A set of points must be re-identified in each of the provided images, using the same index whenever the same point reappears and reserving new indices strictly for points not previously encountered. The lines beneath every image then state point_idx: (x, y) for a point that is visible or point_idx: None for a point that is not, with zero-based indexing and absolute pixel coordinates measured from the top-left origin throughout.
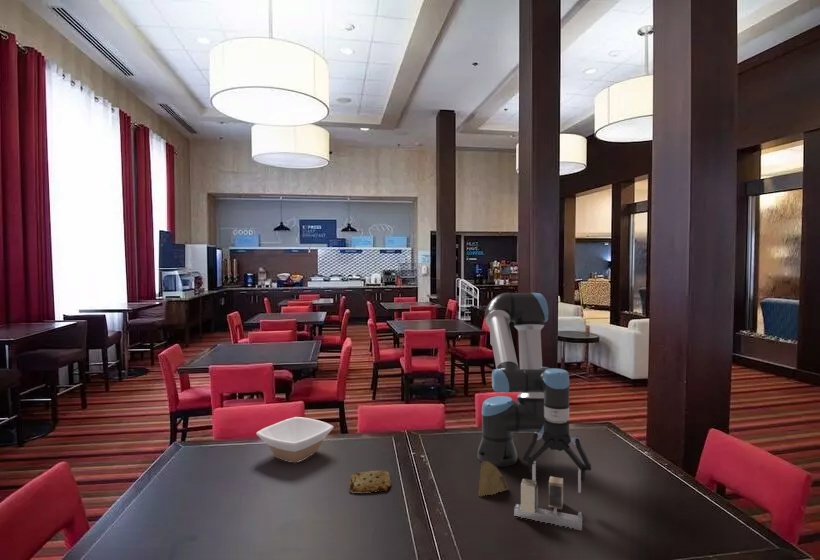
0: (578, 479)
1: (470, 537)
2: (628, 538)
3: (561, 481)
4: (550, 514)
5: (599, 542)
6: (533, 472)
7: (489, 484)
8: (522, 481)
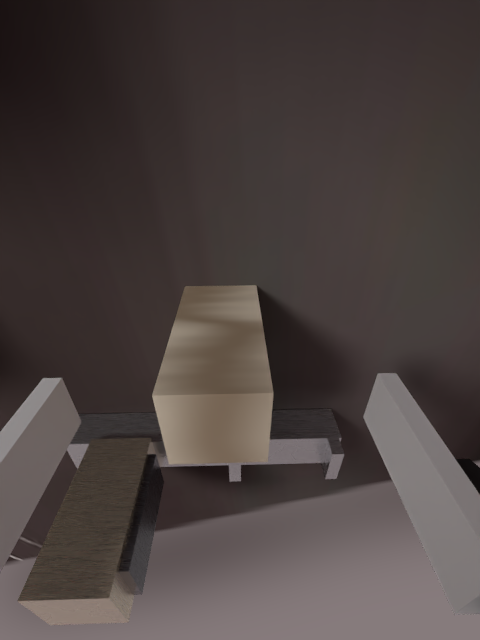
0: (411, 514)
1: (41, 523)
2: (474, 422)
3: (260, 436)
4: None
5: (369, 459)
6: (17, 520)
7: None
8: (38, 612)
